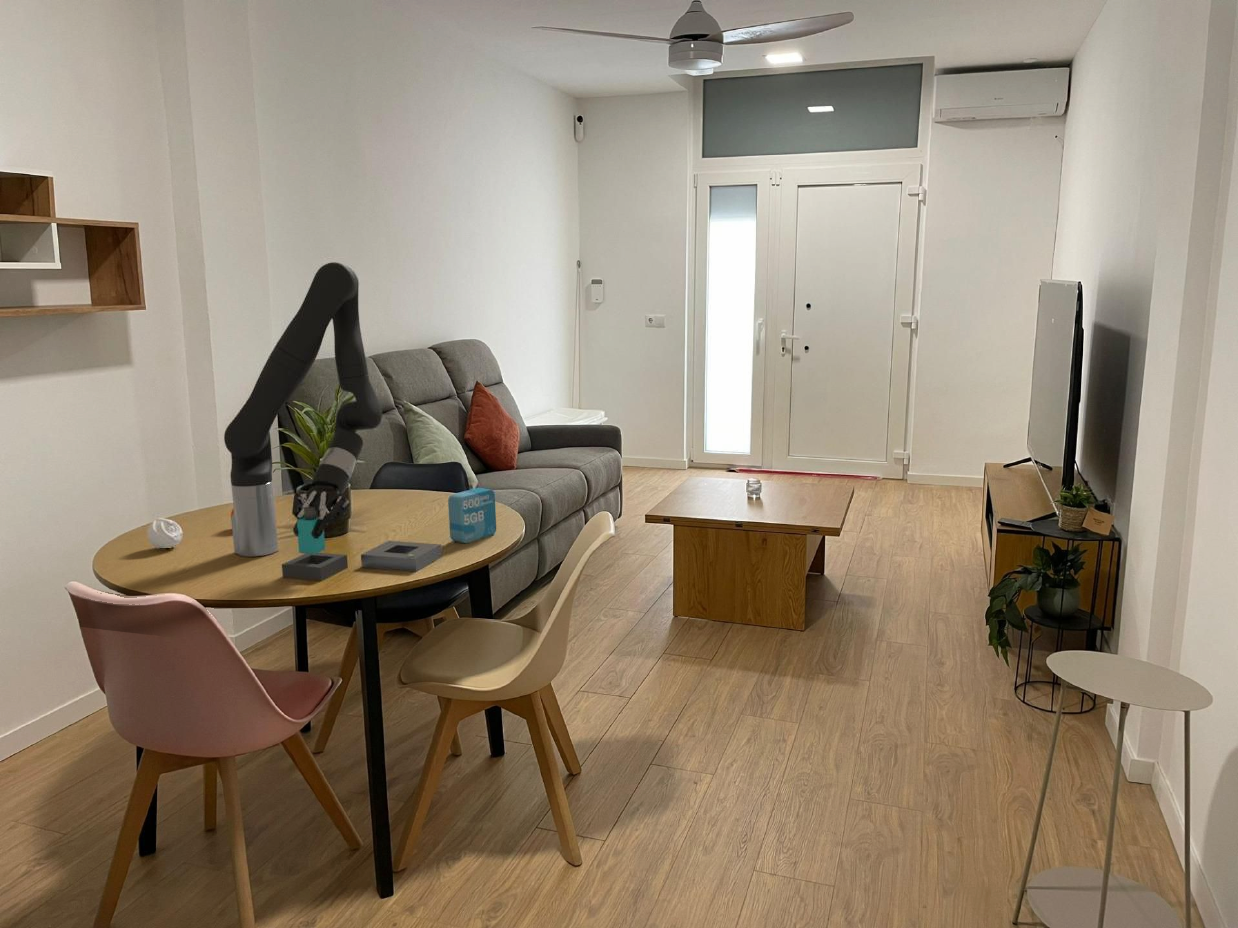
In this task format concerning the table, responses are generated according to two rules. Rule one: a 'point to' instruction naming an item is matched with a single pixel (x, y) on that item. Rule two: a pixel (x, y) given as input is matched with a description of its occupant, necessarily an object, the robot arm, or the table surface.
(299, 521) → the plug
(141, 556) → the table surface
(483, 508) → the data package
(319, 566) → the holster
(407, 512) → the table surface
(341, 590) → the table surface
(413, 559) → the port block
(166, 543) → the motion sensor
